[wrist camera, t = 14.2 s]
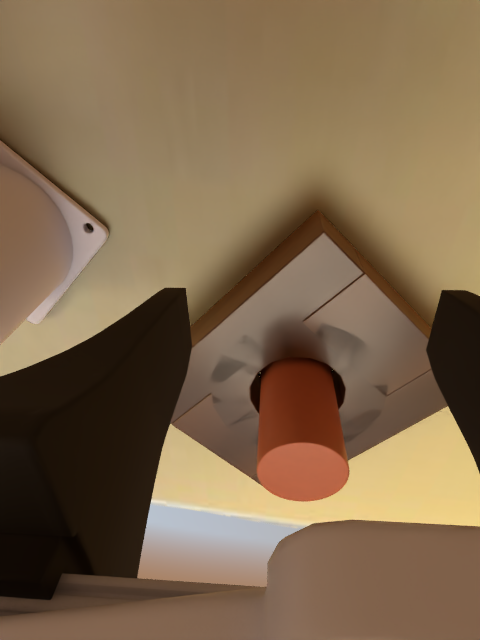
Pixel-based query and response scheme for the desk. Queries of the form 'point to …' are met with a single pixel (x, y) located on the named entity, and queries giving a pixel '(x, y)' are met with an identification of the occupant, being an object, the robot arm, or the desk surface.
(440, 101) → the desk surface
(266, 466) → the peg
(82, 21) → the desk surface
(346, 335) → the block with round hole
